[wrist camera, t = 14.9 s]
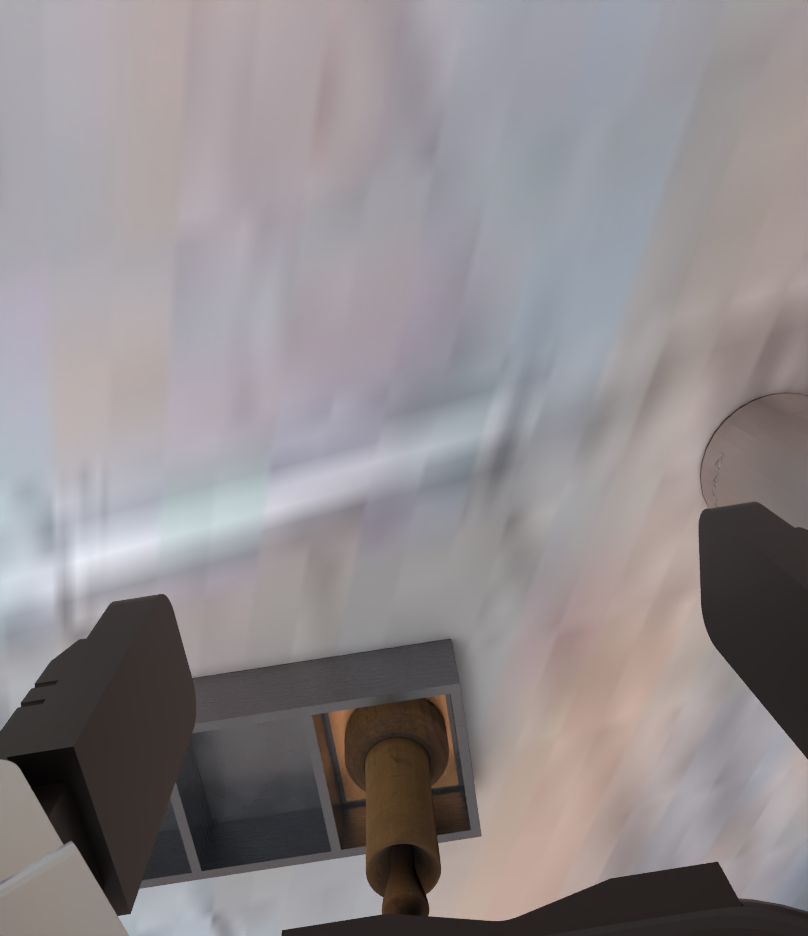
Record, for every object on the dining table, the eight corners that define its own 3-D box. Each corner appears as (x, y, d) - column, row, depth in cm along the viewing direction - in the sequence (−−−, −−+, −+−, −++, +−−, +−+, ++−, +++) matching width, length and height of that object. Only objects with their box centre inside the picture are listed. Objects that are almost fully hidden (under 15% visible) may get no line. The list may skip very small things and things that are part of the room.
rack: (450, 638, 49) (459, 683, 44) (472, 785, 53) (482, 841, 48) (36, 702, 49) (0, 753, 45) (85, 844, 53) (57, 906, 48)
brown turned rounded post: (380, 792, 51) (386, 1077, 34) (325, 724, 49) (302, 989, 32) (464, 744, 50) (515, 1012, 33) (411, 673, 49) (435, 917, 31)
